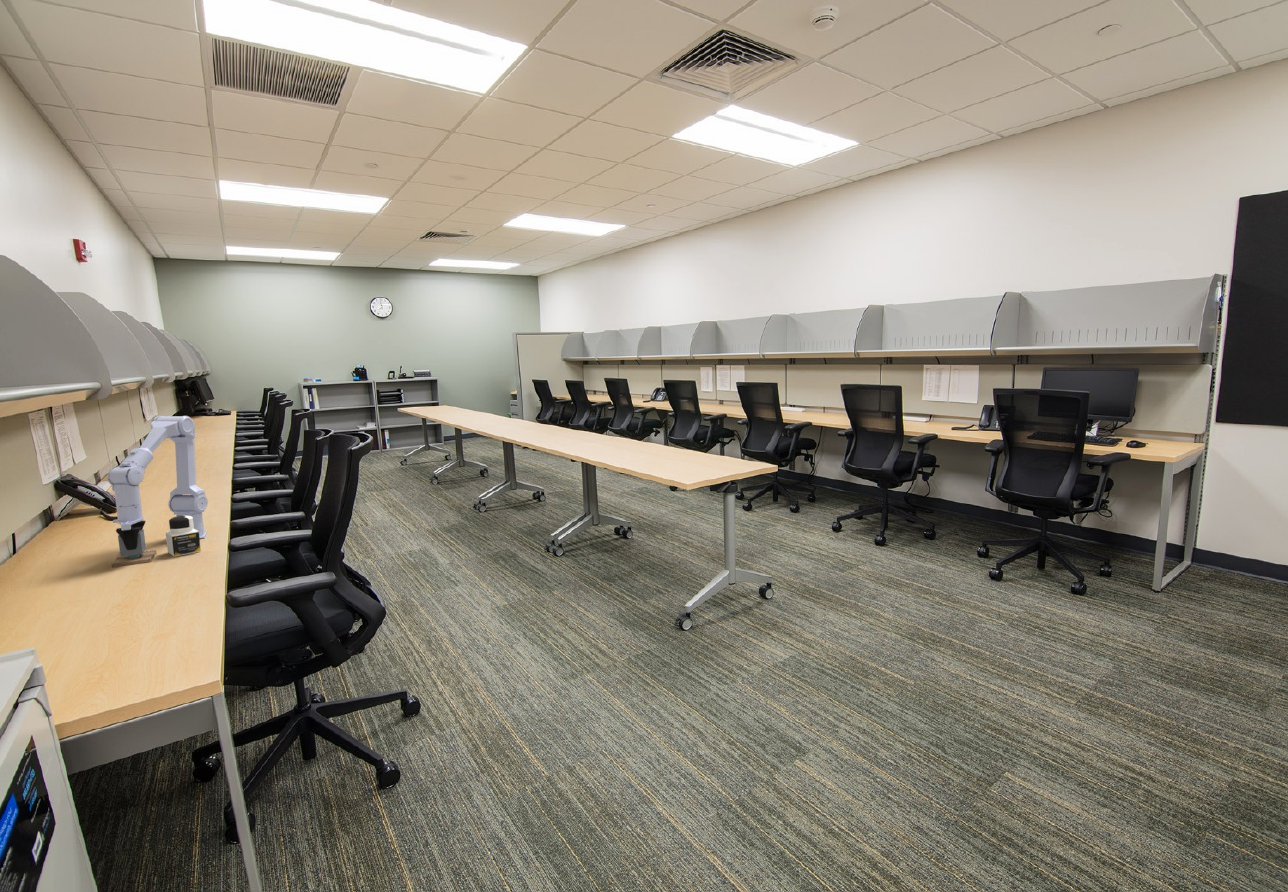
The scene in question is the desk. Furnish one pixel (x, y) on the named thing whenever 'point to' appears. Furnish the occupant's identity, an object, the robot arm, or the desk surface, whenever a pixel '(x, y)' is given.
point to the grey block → (139, 549)
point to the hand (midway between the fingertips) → (133, 547)
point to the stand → (134, 559)
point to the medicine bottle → (182, 536)
